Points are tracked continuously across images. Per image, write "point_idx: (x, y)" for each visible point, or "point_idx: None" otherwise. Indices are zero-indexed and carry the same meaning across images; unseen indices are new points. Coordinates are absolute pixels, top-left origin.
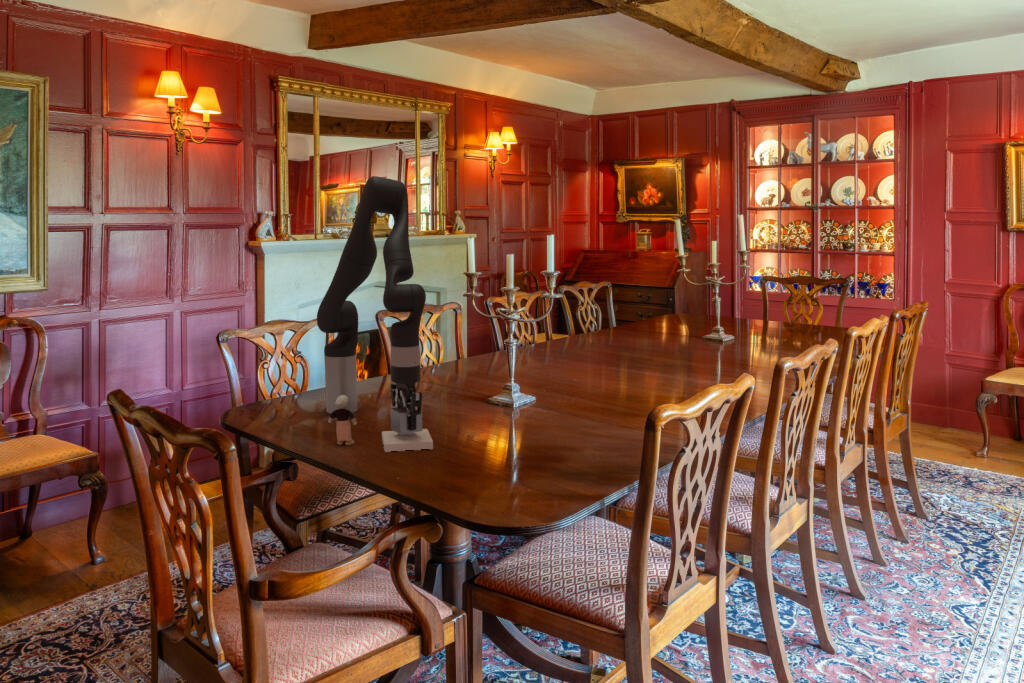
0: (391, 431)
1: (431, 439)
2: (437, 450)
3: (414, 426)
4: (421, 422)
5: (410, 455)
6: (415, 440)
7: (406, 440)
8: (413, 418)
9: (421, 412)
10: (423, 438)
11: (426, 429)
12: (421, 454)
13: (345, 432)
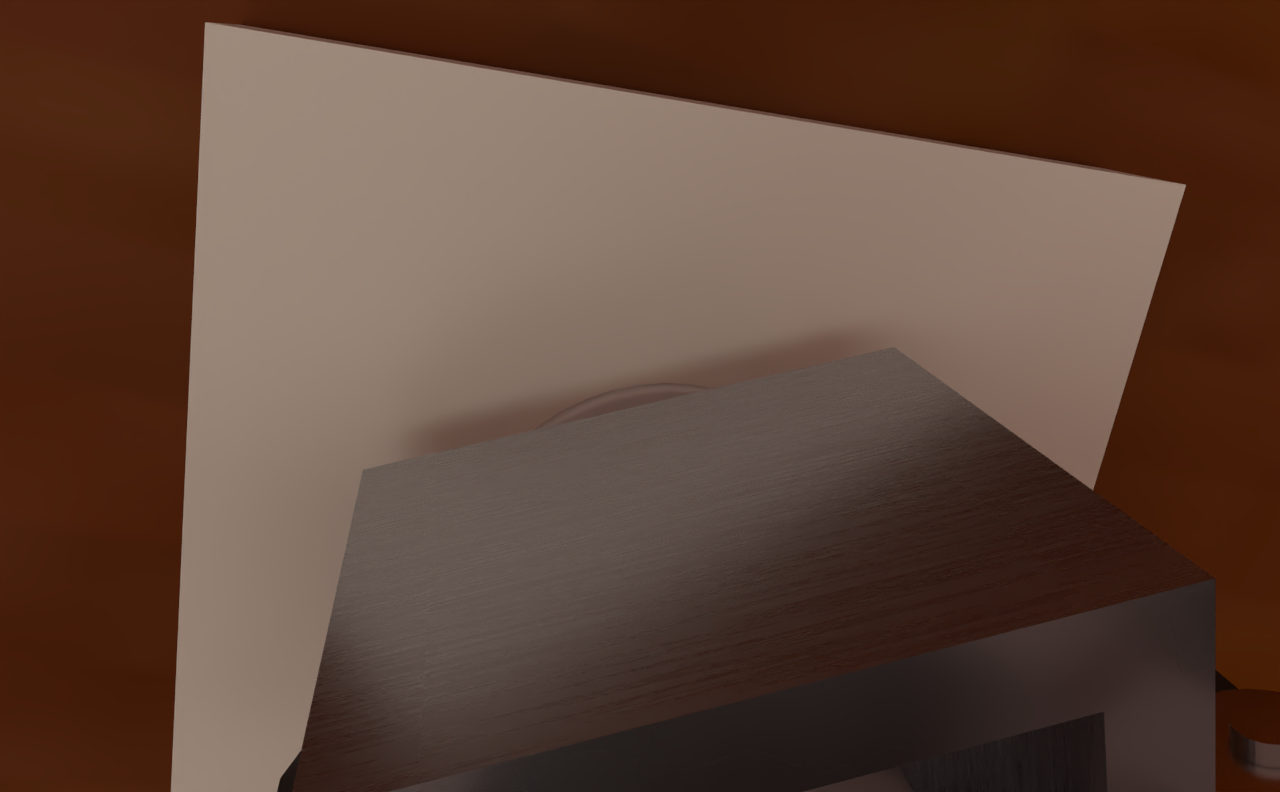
0: (217, 775)
1: (1047, 172)
2: (1181, 110)
3: None
4: (985, 429)
5: (1195, 557)
6: None
7: None
8: None
9: (1156, 551)
10: (918, 306)
11: (257, 58)
12: (1234, 404)
13: None
